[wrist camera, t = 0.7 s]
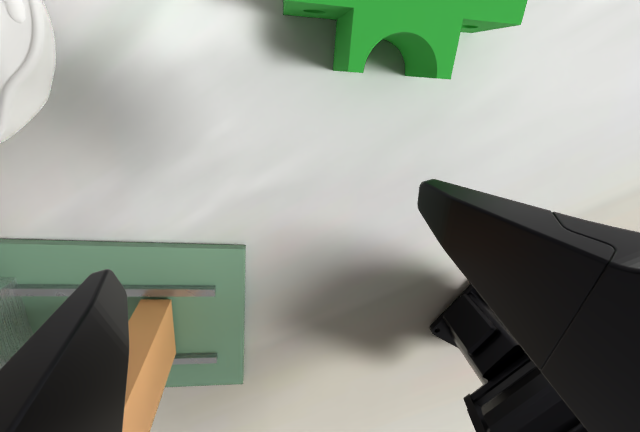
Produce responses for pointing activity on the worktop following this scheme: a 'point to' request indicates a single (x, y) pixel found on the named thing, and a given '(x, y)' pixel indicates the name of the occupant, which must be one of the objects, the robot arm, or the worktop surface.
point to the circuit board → (149, 269)
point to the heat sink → (9, 311)
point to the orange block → (148, 362)
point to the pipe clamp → (407, 28)
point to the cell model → (24, 62)
